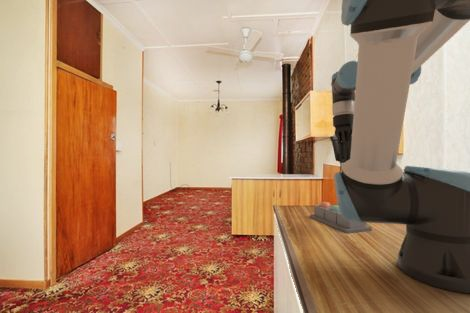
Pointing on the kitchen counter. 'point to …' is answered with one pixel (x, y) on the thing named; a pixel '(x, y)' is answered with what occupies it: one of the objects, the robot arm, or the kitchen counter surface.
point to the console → (337, 220)
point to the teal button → (335, 208)
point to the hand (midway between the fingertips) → (346, 180)
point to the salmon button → (325, 204)
